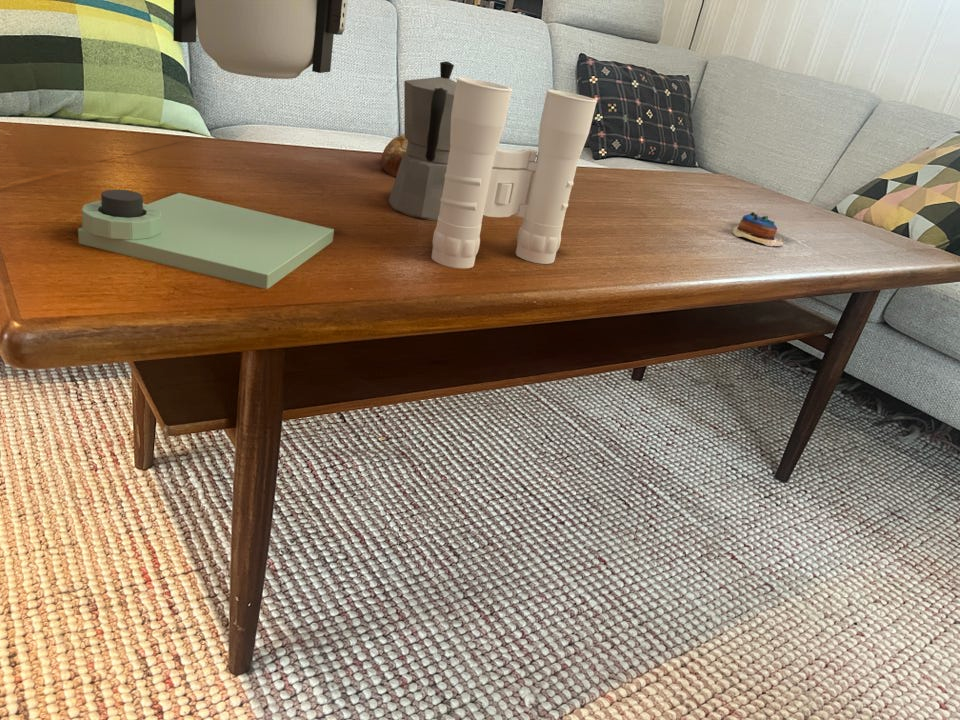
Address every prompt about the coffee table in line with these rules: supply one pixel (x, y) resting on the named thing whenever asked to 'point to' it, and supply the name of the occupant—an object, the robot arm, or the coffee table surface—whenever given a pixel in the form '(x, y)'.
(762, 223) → the dessert
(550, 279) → the coffee table surface
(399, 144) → the bread roll
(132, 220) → the scale
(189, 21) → the robot arm
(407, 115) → the coffeepot
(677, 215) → the coffee table surface
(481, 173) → the binoculars
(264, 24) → the teacup
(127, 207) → the button
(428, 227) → the coffee table surface
